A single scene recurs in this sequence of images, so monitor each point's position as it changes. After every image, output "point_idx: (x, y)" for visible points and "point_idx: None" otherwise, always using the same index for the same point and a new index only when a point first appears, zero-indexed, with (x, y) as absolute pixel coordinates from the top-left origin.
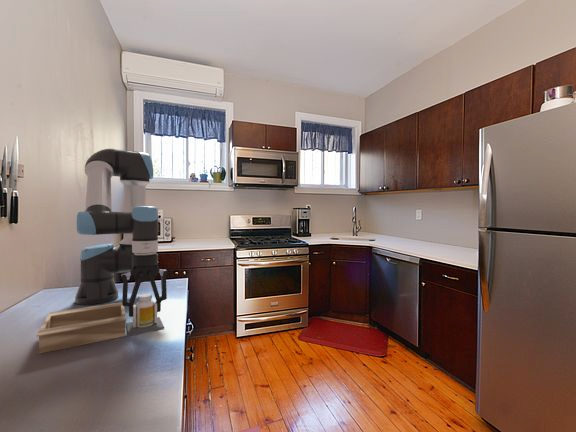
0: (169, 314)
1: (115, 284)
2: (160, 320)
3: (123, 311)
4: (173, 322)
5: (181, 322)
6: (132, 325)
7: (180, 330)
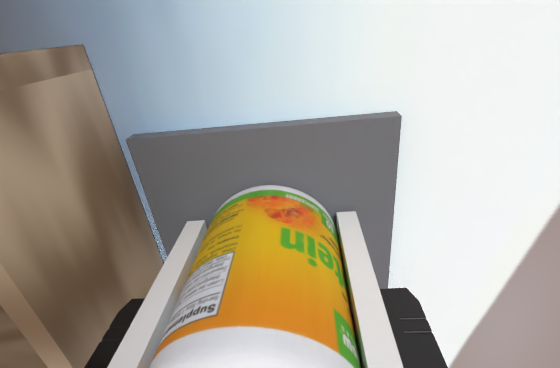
0: (523, 26)
1: None
2: (389, 207)
3: (51, 354)
4: (468, 241)
5: (514, 263)
6: (187, 212)
7: (454, 351)
